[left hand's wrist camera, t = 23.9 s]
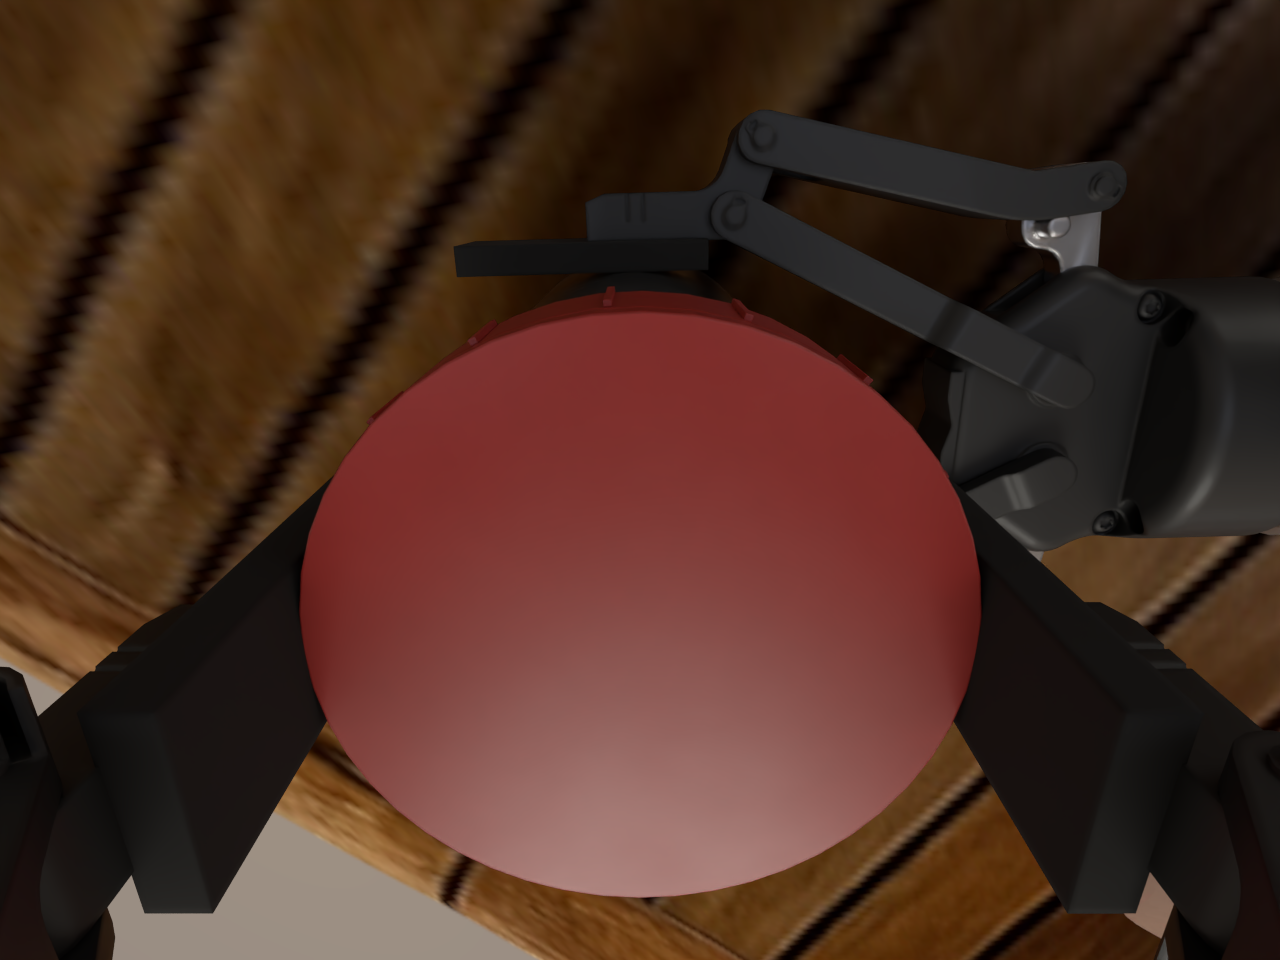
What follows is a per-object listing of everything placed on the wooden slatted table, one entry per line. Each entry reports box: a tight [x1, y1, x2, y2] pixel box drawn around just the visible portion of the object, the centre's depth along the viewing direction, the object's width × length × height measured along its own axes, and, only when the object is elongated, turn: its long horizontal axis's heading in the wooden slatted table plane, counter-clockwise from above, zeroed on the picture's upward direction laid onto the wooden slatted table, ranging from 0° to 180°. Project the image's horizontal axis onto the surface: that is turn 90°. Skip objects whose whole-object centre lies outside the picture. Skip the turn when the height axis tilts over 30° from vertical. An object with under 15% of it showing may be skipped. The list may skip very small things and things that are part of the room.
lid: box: [299, 286, 982, 898], centre depth 11 cm, size 10×10×2 cm
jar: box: [530, 270, 733, 311], centre depth 20 cm, size 9×9×16 cm
